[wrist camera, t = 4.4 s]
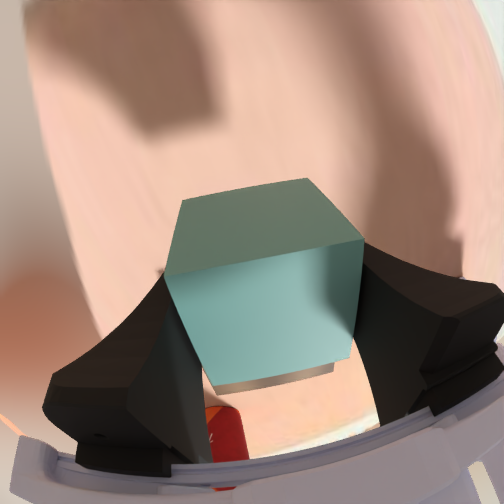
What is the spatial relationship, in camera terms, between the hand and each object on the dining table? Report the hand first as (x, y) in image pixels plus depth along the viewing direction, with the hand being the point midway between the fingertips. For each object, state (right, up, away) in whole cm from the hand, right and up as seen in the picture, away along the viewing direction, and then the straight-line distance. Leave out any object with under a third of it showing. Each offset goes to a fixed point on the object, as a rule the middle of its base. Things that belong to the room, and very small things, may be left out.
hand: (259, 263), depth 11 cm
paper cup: (-5, -21, +23) cm, 31 cm away
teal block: (0, +1, +1) cm, 2 cm away
